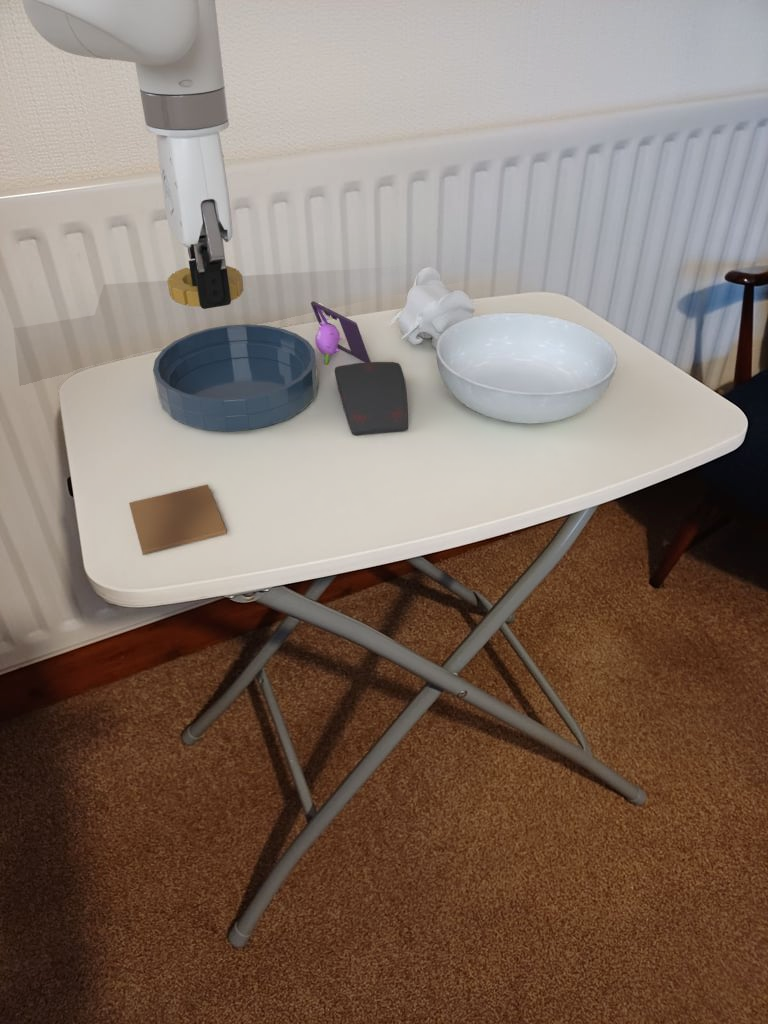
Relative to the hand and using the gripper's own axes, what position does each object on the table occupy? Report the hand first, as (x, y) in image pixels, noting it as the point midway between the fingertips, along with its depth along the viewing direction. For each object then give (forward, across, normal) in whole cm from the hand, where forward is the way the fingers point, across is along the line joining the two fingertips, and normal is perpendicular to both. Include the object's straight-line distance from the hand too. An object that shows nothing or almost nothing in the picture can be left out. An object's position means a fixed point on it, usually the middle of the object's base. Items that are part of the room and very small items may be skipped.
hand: (212, 299), depth 83 cm
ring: (0, -3, 0) cm, 3 cm away
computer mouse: (+15, +4, +17) cm, 23 cm away
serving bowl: (+15, +10, +34) cm, 38 cm away
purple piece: (+15, -9, +17) cm, 24 cm away
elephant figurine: (+15, -8, +31) cm, 35 cm away
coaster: (+15, +16, -10) cm, 24 cm away
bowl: (+15, -5, +3) cm, 16 cm away
